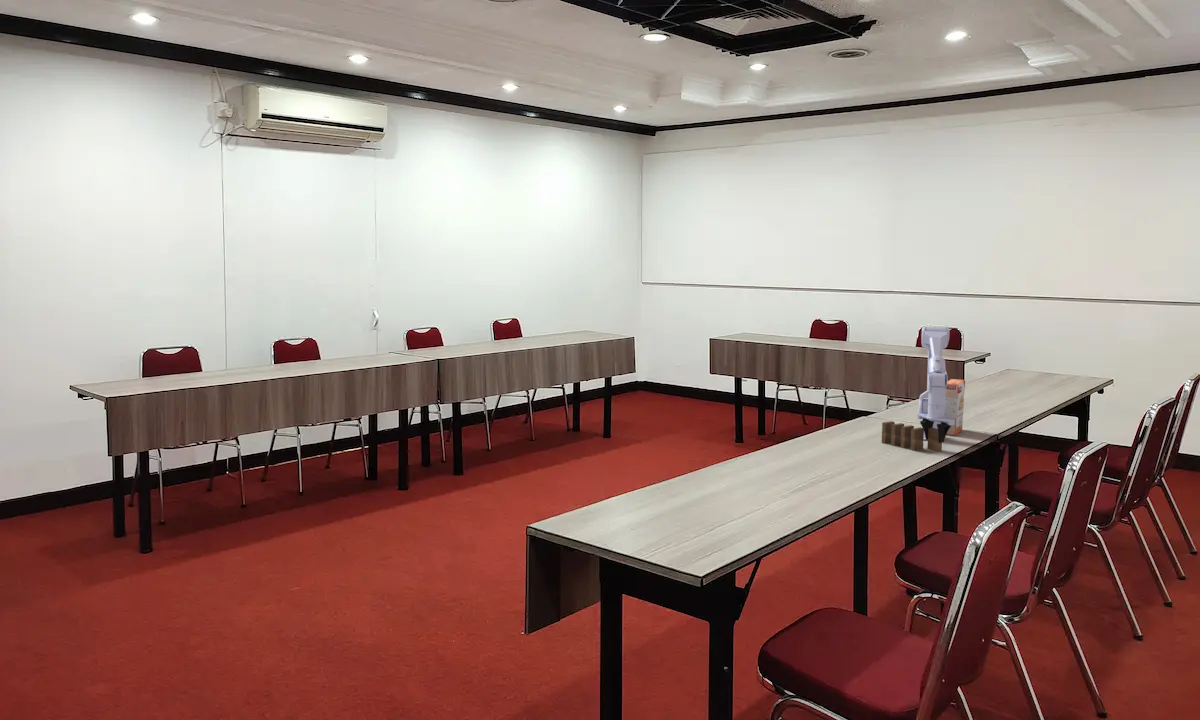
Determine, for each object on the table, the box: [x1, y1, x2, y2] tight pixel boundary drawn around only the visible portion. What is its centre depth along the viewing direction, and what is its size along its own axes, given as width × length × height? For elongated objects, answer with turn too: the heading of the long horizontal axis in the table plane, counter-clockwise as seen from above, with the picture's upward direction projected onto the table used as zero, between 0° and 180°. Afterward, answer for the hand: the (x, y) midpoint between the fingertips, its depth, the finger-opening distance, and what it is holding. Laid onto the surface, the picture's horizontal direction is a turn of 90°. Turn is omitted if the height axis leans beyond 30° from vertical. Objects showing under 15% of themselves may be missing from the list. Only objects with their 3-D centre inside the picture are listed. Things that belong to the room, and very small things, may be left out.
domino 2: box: [890, 422, 905, 447], centre depth 323 cm, size 2×5×8 cm, turn 121°
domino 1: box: [881, 420, 896, 444], centre depth 327 cm, size 2×5×8 cm, turn 121°
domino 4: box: [910, 426, 924, 452], centre depth 315 cm, size 2×5×8 cm, turn 121°
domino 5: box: [926, 428, 943, 453], centre depth 314 cm, size 2×5×8 cm, turn 31°
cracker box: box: [944, 378, 966, 436], centre depth 343 cm, size 14×6×21 cm, turn 147°
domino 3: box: [900, 424, 915, 449], centre depth 319 cm, size 2×5×8 cm, turn 121°
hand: (934, 440), depth 314 cm, fingers closed on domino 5, 5 cm apart
